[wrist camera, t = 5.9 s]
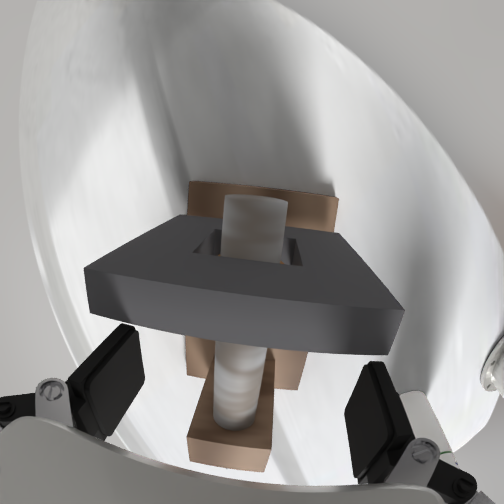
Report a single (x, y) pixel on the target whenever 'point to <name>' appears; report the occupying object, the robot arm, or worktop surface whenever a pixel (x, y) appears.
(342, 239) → the dark grey square plate
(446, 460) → the cylindrical container
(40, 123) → the worktop surface
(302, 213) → the pipe mount
